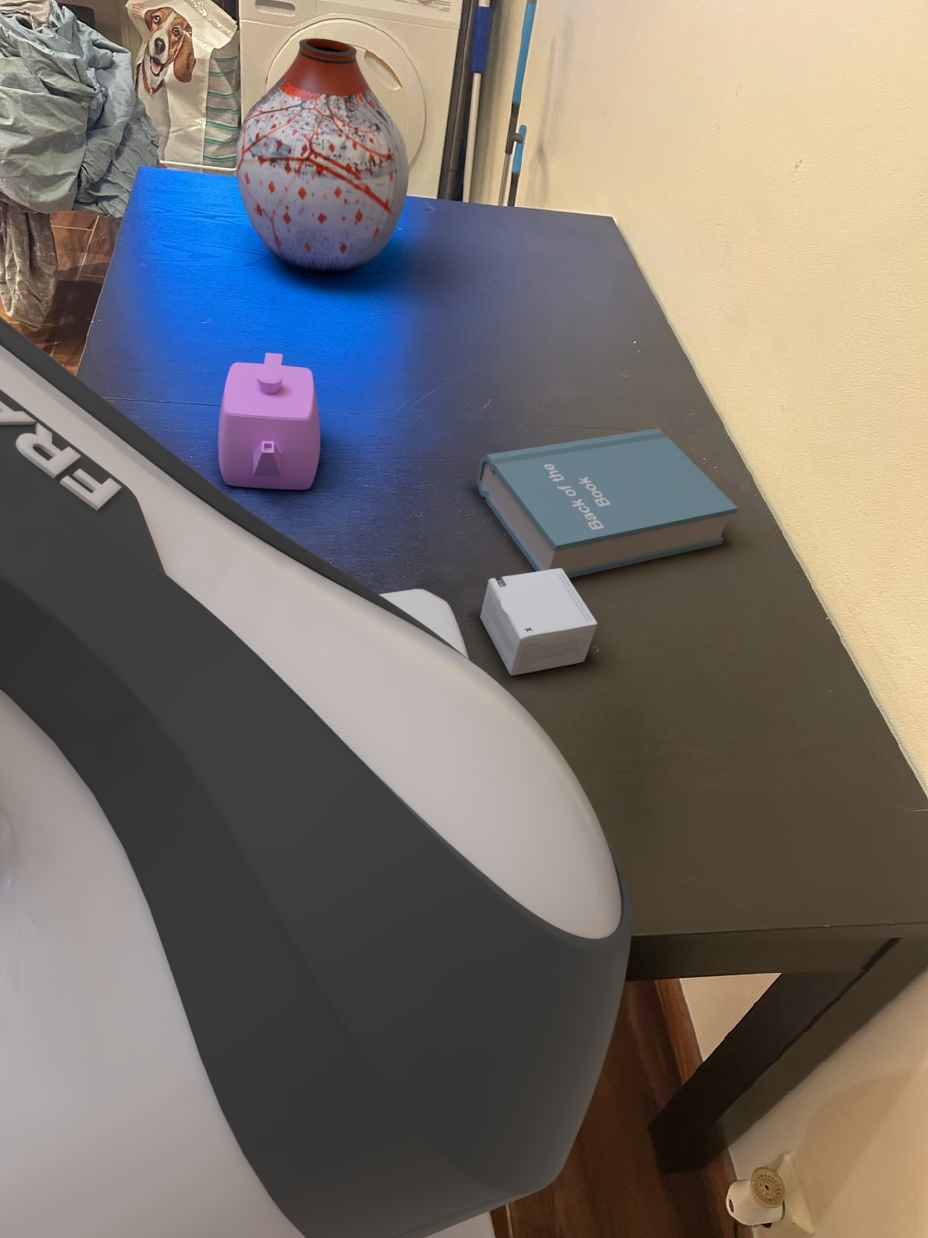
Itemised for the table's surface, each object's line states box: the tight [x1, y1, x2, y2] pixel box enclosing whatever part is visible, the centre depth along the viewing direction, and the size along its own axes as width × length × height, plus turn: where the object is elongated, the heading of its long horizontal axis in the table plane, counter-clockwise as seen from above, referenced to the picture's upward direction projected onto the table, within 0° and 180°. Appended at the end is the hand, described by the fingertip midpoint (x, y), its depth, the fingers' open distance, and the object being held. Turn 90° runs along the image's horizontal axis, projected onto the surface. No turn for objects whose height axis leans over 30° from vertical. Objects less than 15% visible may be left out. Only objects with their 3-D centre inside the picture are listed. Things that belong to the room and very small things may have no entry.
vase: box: [235, 37, 410, 279], centre depth 121 cm, size 23×23×28 cm
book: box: [476, 428, 739, 579], centre depth 96 cm, size 23×16×5 cm
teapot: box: [217, 352, 321, 491], centre depth 92 cm, size 18×10×10 cm, turn 6°
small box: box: [479, 568, 599, 676], centre depth 81 cm, size 8×8×5 cm
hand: (175, 568), depth 37 cm, fingers closed
